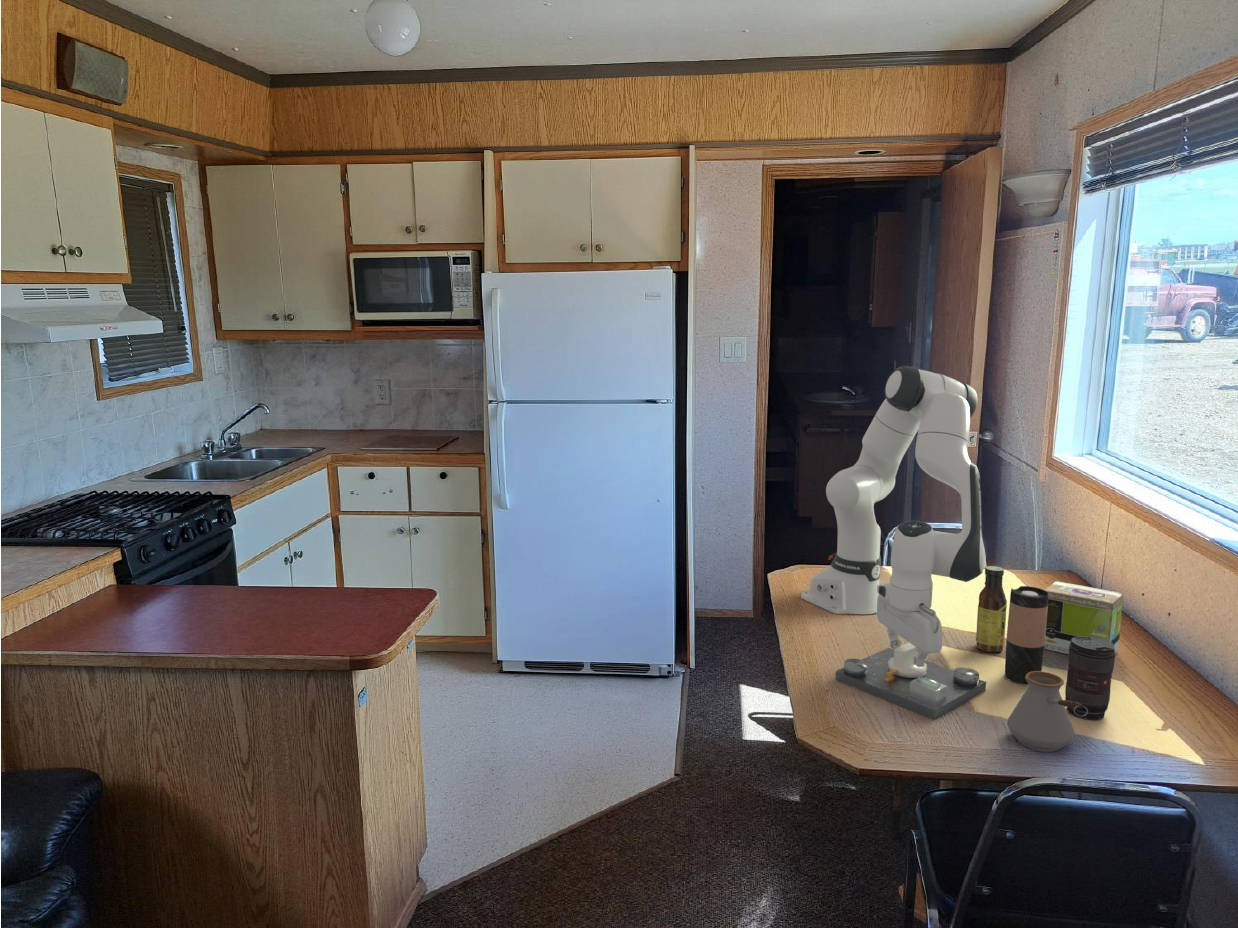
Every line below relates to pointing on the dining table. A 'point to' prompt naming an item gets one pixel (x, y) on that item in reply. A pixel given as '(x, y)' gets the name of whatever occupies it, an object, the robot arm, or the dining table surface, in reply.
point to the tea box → (1081, 615)
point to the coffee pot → (1043, 714)
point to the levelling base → (903, 685)
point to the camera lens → (1089, 676)
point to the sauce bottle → (991, 612)
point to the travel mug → (1025, 632)
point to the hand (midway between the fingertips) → (906, 656)
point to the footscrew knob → (905, 662)
